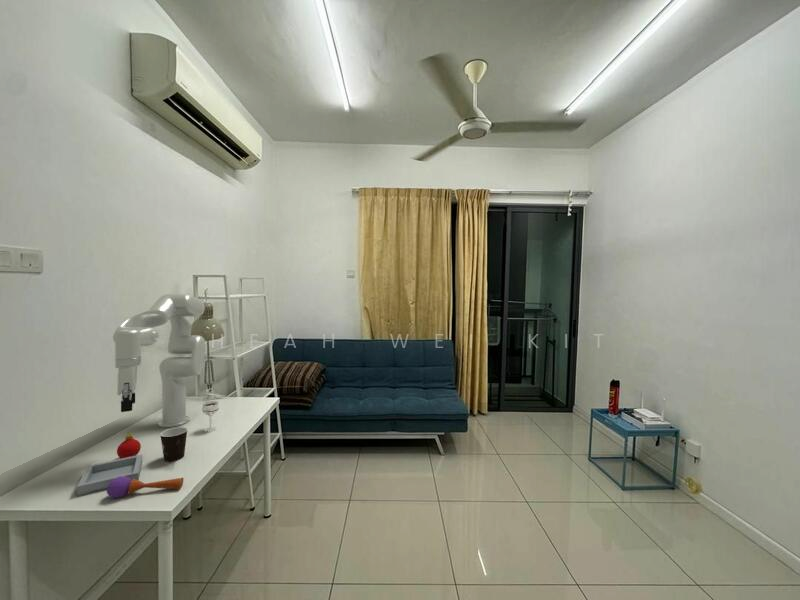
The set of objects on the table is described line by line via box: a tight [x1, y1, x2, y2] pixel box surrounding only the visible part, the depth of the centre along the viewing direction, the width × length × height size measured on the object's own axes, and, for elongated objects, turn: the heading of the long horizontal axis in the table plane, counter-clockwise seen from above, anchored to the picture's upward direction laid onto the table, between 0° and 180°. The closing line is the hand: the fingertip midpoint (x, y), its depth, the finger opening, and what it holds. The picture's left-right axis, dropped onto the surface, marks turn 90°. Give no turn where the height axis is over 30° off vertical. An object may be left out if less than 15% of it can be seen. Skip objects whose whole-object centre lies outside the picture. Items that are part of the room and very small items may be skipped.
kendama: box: [106, 476, 184, 499], centre depth 106 cm, size 6×6×20 cm
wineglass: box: [201, 400, 220, 432], centre depth 154 cm, size 7×7×12 cm
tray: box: [76, 454, 143, 497], centre depth 114 cm, size 15×15×3 cm
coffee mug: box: [159, 426, 188, 463], centre depth 127 cm, size 12×9×10 cm
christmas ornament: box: [116, 431, 142, 459], centre depth 127 cm, size 7×7×10 cm
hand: (128, 407), depth 127 cm, fingers open, 9 cm apart
